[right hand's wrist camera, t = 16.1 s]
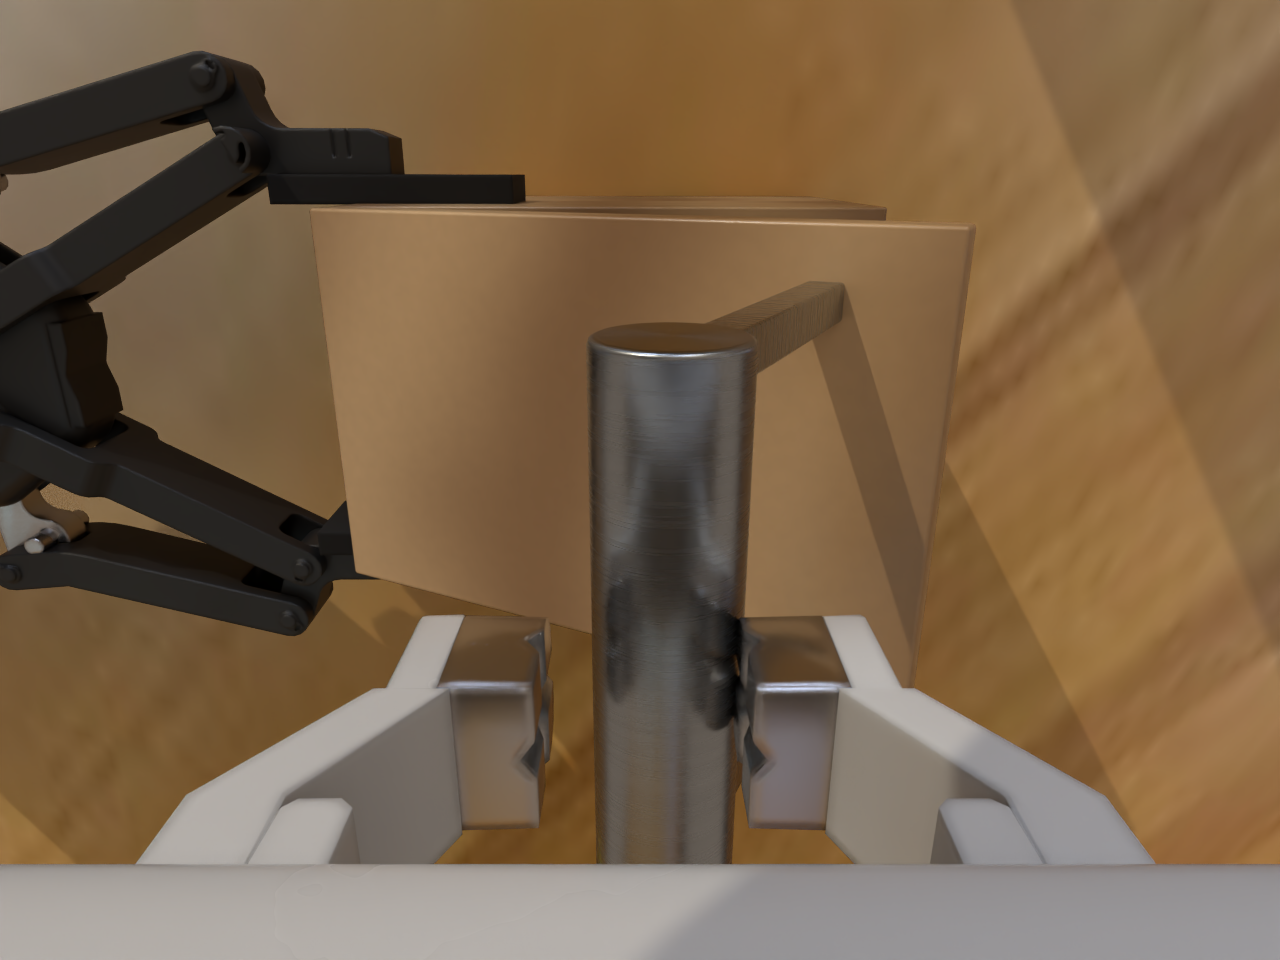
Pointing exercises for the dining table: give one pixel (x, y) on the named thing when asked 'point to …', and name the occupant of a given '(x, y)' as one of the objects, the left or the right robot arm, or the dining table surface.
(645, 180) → the dining table surface
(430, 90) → the dining table surface
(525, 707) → the right robot arm
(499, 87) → the dining table surface
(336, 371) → the lid
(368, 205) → the chest
